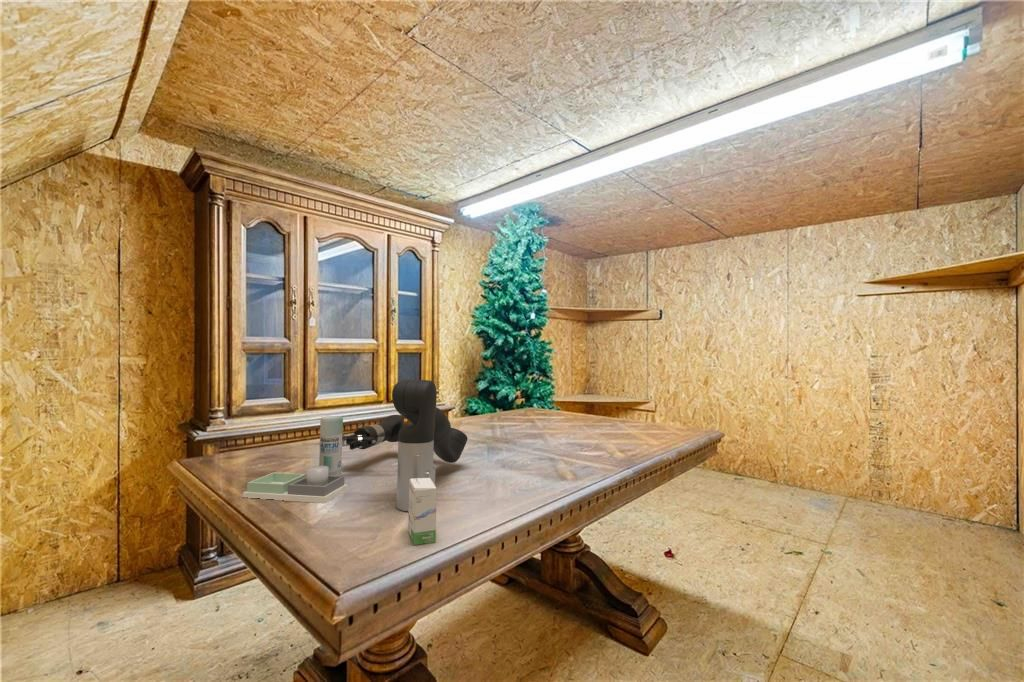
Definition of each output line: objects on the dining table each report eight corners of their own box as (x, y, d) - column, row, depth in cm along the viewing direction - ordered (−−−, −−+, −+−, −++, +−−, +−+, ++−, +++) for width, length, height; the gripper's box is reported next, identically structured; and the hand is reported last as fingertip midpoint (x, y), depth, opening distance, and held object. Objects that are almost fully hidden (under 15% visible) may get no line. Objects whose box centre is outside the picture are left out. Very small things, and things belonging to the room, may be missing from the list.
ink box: (436, 542, 92) (437, 486, 92) (412, 546, 90) (414, 489, 90) (429, 527, 100) (430, 476, 100) (407, 530, 98) (408, 478, 98)
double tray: (347, 489, 127) (348, 463, 127) (325, 503, 115) (326, 474, 115) (272, 485, 129) (273, 459, 130) (242, 498, 118) (243, 470, 118)
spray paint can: (342, 478, 137) (344, 415, 138) (339, 484, 131) (341, 418, 132) (320, 479, 136) (323, 415, 137) (316, 485, 130) (318, 418, 130)
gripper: (386, 448, 152) (358, 458, 136) (351, 445, 156) (320, 455, 140) (386, 426, 152) (358, 435, 136) (352, 424, 156) (320, 432, 140)
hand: (339, 445), depth 138 cm, fingers open, 8 cm apart
